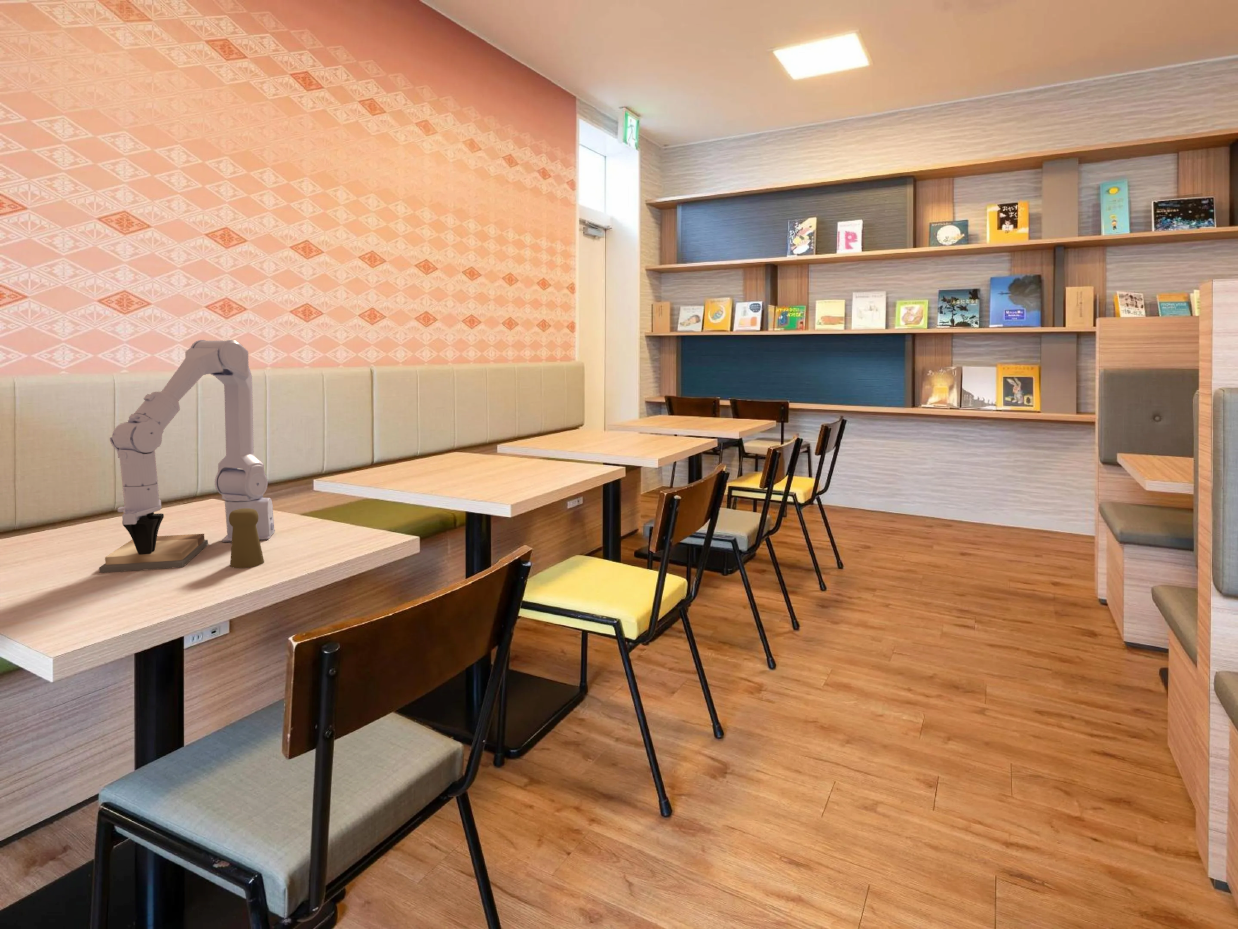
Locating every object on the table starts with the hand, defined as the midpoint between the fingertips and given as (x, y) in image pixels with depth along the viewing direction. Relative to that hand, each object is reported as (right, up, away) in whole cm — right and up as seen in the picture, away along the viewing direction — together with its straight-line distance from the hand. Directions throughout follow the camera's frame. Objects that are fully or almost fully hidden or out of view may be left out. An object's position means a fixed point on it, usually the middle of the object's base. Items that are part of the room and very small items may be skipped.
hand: (146, 552), depth 141 cm
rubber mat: (-1, -2, +6) cm, 6 cm away
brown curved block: (-3, -1, +12) cm, 12 cm away
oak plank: (-1, -1, +4) cm, 4 cm away
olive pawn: (+19, -3, +2) cm, 19 cm away
